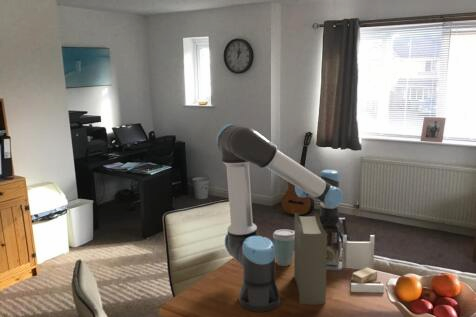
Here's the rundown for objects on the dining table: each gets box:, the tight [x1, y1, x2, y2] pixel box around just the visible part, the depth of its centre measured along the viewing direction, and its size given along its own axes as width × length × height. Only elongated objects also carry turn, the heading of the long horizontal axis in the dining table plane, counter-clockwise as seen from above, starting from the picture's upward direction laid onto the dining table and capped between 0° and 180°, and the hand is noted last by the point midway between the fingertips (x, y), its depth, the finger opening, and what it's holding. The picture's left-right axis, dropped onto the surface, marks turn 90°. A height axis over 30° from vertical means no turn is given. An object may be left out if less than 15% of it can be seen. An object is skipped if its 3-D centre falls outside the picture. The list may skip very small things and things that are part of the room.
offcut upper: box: [351, 267, 378, 283], centre depth 162 cm, size 9×5×3 cm, turn 123°
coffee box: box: [324, 224, 340, 265], centre depth 179 cm, size 9×6×16 cm
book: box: [293, 212, 327, 305], centre depth 158 cm, size 22×9×28 cm, turn 178°
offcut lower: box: [350, 277, 381, 284], centre depth 162 cm, size 10×5×3 cm, turn 98°
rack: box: [341, 234, 385, 293], centre depth 166 cm, size 13×20×15 cm, turn 175°
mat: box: [326, 262, 342, 271], centre depth 181 cm, size 10×10×1 cm
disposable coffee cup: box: [272, 228, 295, 267], centre depth 182 cm, size 11×11×15 cm
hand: (328, 255), depth 180 cm, fingers closed on coffee box, 9 cm apart
